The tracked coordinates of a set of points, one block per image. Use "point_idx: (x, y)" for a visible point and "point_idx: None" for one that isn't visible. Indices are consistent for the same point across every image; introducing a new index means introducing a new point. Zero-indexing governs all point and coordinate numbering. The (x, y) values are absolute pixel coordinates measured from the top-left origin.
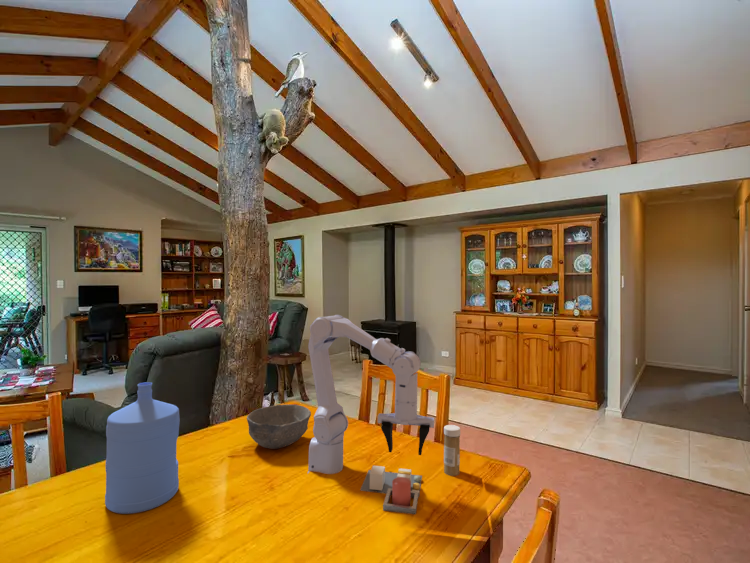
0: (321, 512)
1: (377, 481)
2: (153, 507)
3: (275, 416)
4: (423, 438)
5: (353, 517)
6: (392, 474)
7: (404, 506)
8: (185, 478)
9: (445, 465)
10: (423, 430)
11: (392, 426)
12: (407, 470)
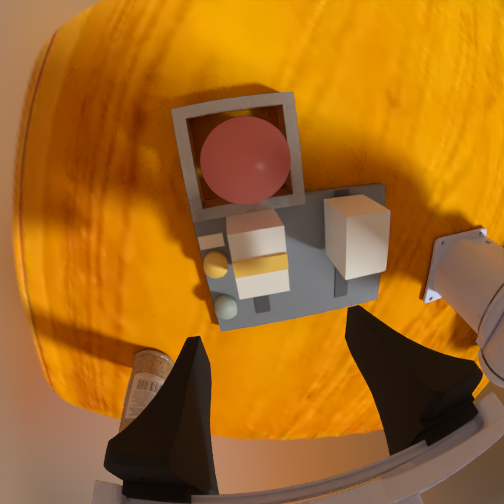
0: (433, 75)
1: (351, 205)
2: None
3: None
4: (151, 413)
5: (361, 60)
6: (309, 305)
7: (214, 107)
8: None
9: (162, 375)
10: (131, 465)
11: (388, 432)
12: (253, 287)
